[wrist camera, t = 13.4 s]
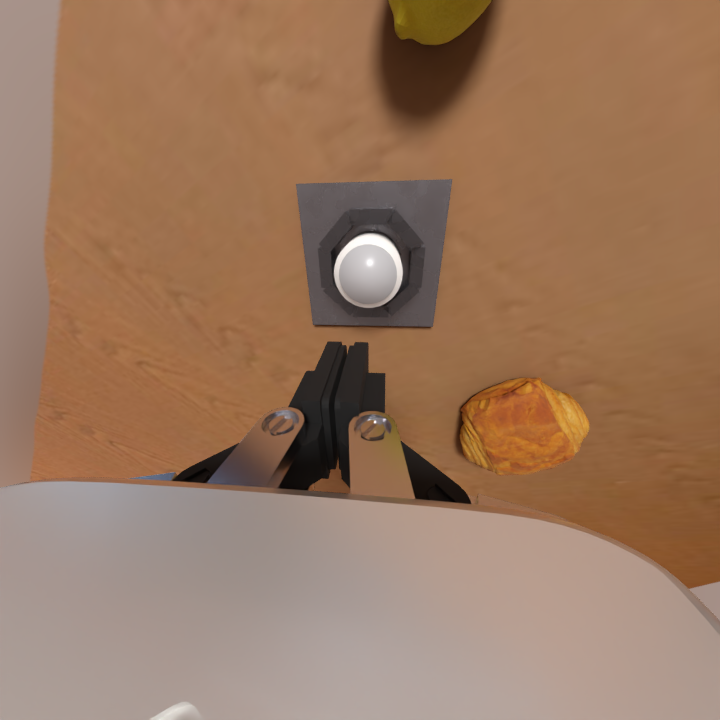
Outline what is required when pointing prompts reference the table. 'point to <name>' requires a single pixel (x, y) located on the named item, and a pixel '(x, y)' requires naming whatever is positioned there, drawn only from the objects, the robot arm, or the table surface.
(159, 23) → the table surface
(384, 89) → the table surface
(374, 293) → the cap
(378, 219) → the octagonal hole plate
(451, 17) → the lemon
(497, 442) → the croissant
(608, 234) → the table surface
